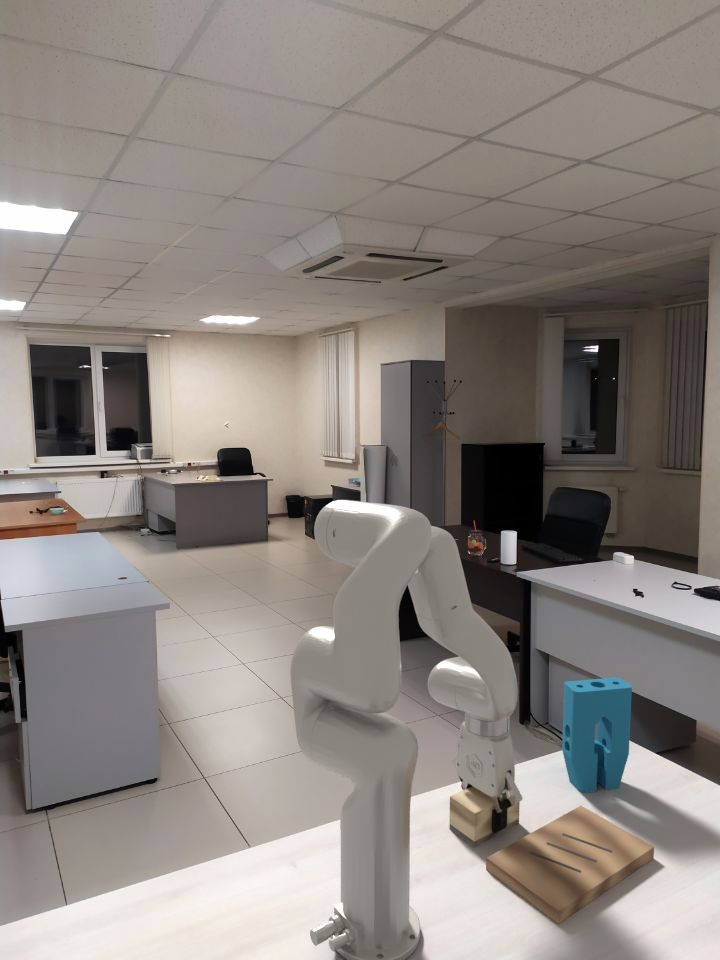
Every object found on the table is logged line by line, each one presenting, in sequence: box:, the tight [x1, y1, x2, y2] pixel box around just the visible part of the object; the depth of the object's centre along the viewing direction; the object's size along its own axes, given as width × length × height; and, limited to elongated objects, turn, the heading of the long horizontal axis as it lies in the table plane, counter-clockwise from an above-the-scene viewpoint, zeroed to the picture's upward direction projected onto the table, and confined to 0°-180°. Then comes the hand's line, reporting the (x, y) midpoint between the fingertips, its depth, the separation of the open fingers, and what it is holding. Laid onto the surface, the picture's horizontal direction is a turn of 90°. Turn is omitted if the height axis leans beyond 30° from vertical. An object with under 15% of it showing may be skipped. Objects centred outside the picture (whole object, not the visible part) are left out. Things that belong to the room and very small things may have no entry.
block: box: [561, 676, 633, 793], centre depth 131 cm, size 12×5×20 cm, turn 101°
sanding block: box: [448, 786, 521, 848], centre depth 118 cm, size 11×6×6 cm, turn 126°
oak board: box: [485, 805, 655, 925], centre depth 109 cm, size 24×14×2 cm, turn 126°
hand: (484, 819), depth 118 cm, fingers closed on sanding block, 6 cm apart
